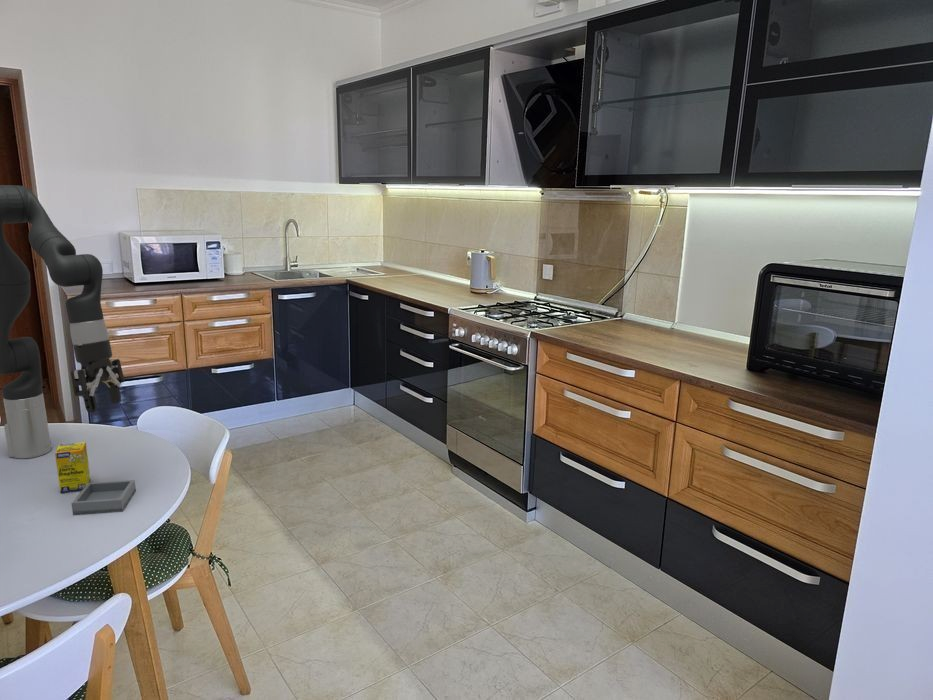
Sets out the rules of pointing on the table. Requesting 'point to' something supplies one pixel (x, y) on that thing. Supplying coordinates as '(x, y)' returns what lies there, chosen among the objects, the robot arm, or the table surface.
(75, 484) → the supplement box
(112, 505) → the holder
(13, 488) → the table surface
